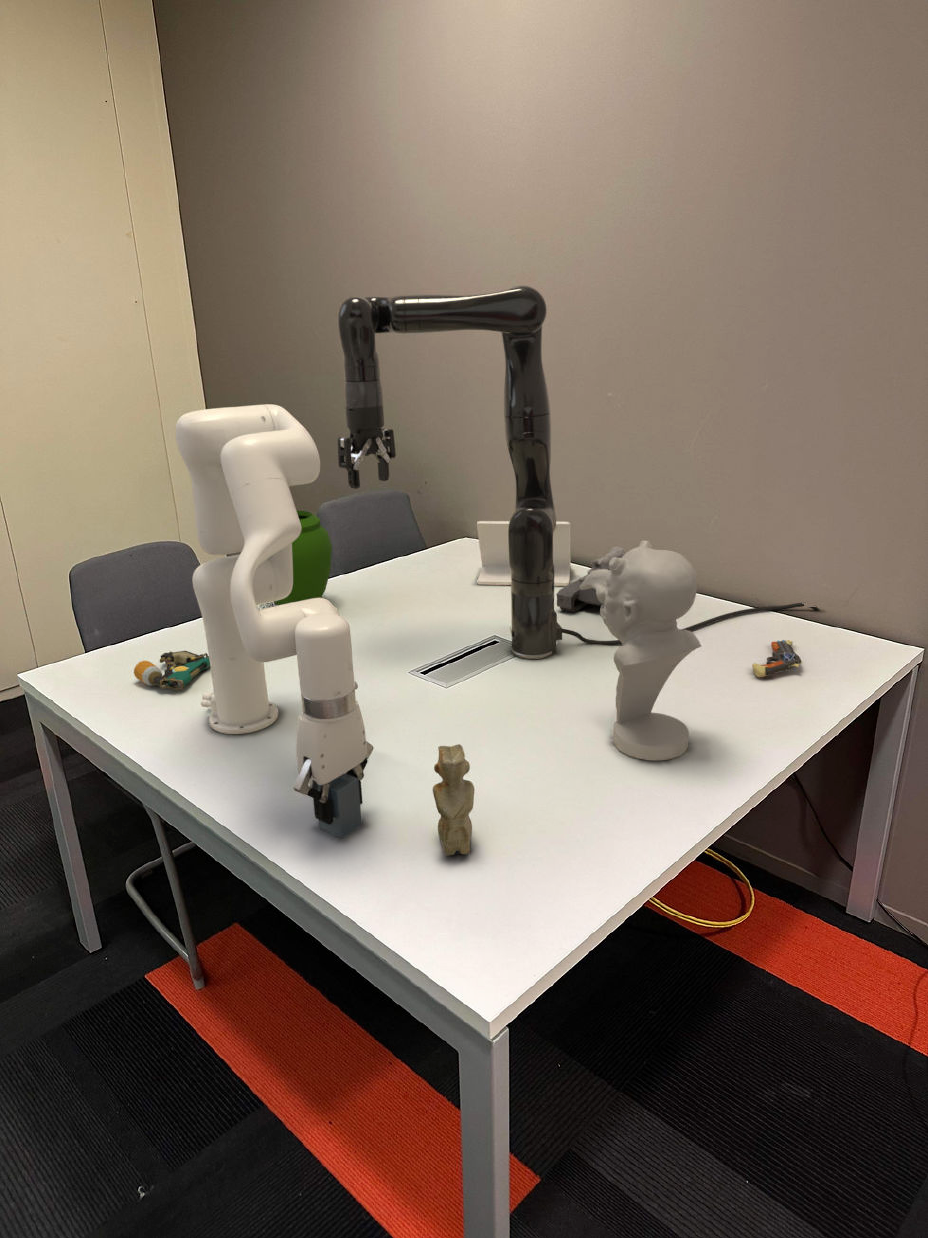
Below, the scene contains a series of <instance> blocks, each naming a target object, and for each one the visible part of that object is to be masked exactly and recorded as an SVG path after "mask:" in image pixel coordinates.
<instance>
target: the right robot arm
mask: <svg viewBox="0 0 928 1238" xmlns="http://www.w3.org/2000/svg"><path fill="white" fill-rule="evenodd" d="M547 311H548V309H547V303H546V300H545V298H544V296H543V295H542V294H541V293H540V291H539V290H537V289H536V288H534V287H532V286H530V285H525V284H519V285H515V286H513V287H510V288H509V289H504V290H499V291H494V292H489V293H481V294H469V295H458V294H457V295H454V294H451V295H450V294H405V295H404V294H403V295H402V294H401V295H395V296H391V297H389V296H351V297H348V298H346V299H345V300H343V301H342V303H341V304H340V306H339V307H338V311H337V327H338V334H339V338H340V345H341V349H342V357H343V360H342V361H343V378H344V393H343V395H344V407H345V408H344V409H345V421H346V427H347V429H348V430H349V436H348V437H347V436H346V437H345V436H344V437H343V436H339V437H338V438H337V453H338V455H337V457H338V458H337V460H338V467H339V468H340V469H341V468H342V469H345V470H346V471H347V481H348V486H349V487H350V488H351V489H356V490H357V489H360V488H361V482H360V480H361V479H360V470H359V467H360V466H361V465H360V464H361V462H362V461H364V460H365V457H368V456H370V455H373V456H374V457H375V458H376V460H377V461H378V462H377V474H378V476H377V477H378V480H379V481H381V482H387V481H389V478H390V462H391V460H392V459H395V458H396V456H397V453H396V445H395V433H394V429H392V428H383V427H384V426H385V415H384V413H385V412H384V398H383V397H384V396H383V388H382V383H381V372H380V371H381V370H380V368H381V367H380V359H379V354H378V351H377V349H376V334H389V333H394V334H397V335H398V334H399V335H400V334H402V335H407V334H408V335H415V334H416V335H417V334H434V333H447V332H456V331H490V332H496V333H497V332H499V333H501V338H502V345H503V351H504V352H503V353H504V363H505V365H504V366H505V367H504V368H505V371H504V386H503V387H504V388H503V412H504V413H503V415H504V431H505V440H506V446H507V451H508V454H509V457H510V460H511V465H512V468H513V472H514V479H515V506H514V507H515V508H514V512H513V513H512V516H511V517H510V519H509V521H510V522H509V529H508V541H509V565H510V568H511V585H510V588H511V589H510V597H511V599H510V603H511V604H510V606H511V607H510V609H511V610H510V615H511V617H510V618H511V621H510V622H511V625H510V626H509V629H510V630H509V631H510V635H511V643H510V644H511V647H510V651H511V653H512V655H513V656H515V657H518V658H521V659H525V660H526V659H527V660H540V659H545V658H548V657H550V656H552V655H557V654H558V653H557V650H558V649H557V648H558V647H557V645H558V644H557V643H558V641H562V640H563V634H566V635H569V636H570V635H571V636H574V637H576V638H577V639H578V640H580V641H581V642H582V643H585V644H587V645H588V644H589V645H597V646H598V645H599V646H615V645H616V646H617V645H623V644H622V642H620V641H619V640H618V639H615V640H613V639H612V640H596V639H595V640H594V639H590V638H586V637H584V636H582V634H580V633H579V632H577V631H574V630H572V629H567V628H563V627H562V626H561V625H560V623H558V613H557V612H556V611H555V586H554V564H553V532H554V530H555V527H556V522H557V515H556V514H557V513H556V509H555V503H554V497H553V496H554V495H553V490H552V484H551V483H552V481H551V461H552V459H551V458H552V423H551V422H552V421H551V405H550V396H549V391H548V385H547V381H546V380H547V379H546V376H545V371H544V365H543V358H542V355H543V354H542V348H543V347H542V342H543V340H542V338H543V324H544V322H545V321H546V317H547ZM802 603H803V602H794V603H789V604H783V605H771V606H769V605H768V606H760V607H752V608H745V609H740V610H736V611H732V612H731V611H730V612H728V613H724V614H721V615H718V616H714V617H712V618H710V619H706V620H704V621H701V622H698V623H696V624H692V625H690V626H687V627H685V628H682V629H683V630H688V631H691V632H692V631H693V630H696V629H699V628H702V627H705V626H707V625H709V624H710V625H711V624H713V623H715V622H718V621H722V620H724V619H728V618H731V617H736V616H740V615H744V614H752V613H756V612H757V613H758V612H765V611H766V612H767V611H782V610H788V609H794V608H801V607H803V606H804V604H802ZM803 608H804V607H803ZM809 608H810V609H812V610H813V611H814V612H820V611H821V610H820V608H819V607H817V606H816V607H809Z"/></svg>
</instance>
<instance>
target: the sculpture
mask: <svg viewBox="0 0 928 1238" xmlns="http://www.w3.org/2000/svg"><path fill="white" fill-rule="evenodd" d="M437 751H438V758H437V762H436V763H435V764H434V767H433V770H434V772H435V773H436V774H437V775H438V776H439V777H441V779H442V781H441V782H437V783H435V784H434V785H433V786H432V794H433V798H434V803H435V808H436V810H437V812H438V814H439V815H440V818H439V819H438V821H437V833H438V837H439V839H440V840H439V841H440V842H441V844H442V848H443V853H444V855H445V856H455V854H456V851H459V853H460V855H468V854H470V852H471V851H470V850H471V838H472V836H473V822H472V820H471V818H470V813H471V812H472V811H473V808H474V800H475V798H474V797H475V786H474V783H473V782H472V781H471V780H468V779H464V777H465V775H467V774H468V773H469V771H470V770H471V765H470V761H468V760H467V759H466V754H465V750H464V748H463V745H462V744H460V743H459V744H454V745H451V746H450V745H449V746H448V745H440V746H438V747H437Z"/></svg>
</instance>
